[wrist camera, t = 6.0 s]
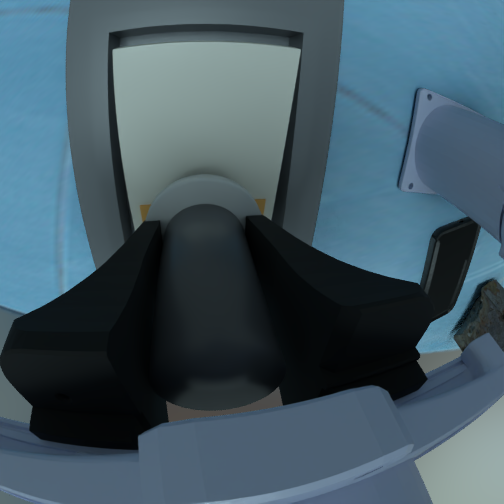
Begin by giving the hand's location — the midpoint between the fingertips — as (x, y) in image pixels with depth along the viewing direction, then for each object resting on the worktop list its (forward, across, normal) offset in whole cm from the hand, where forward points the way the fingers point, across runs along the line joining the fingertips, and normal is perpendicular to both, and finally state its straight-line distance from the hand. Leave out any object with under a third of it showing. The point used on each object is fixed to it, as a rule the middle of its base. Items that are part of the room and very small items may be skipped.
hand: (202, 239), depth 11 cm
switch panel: (+7, 0, -3) cm, 7 cm away
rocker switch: (+3, 0, -3) cm, 4 cm away
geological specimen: (+7, -39, +18) cm, 44 cm away
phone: (+7, -26, +10) cm, 29 cm away
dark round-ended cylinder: (+3, 0, 0) cm, 3 cm away
